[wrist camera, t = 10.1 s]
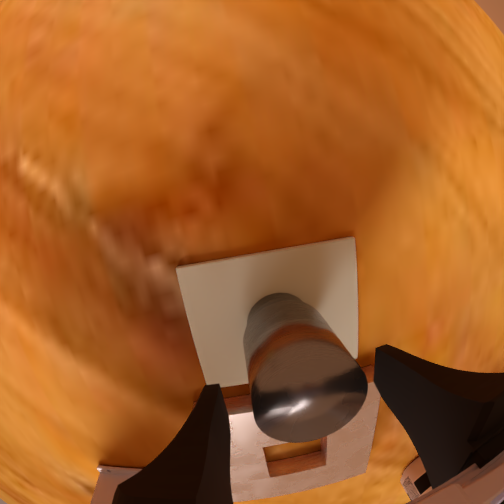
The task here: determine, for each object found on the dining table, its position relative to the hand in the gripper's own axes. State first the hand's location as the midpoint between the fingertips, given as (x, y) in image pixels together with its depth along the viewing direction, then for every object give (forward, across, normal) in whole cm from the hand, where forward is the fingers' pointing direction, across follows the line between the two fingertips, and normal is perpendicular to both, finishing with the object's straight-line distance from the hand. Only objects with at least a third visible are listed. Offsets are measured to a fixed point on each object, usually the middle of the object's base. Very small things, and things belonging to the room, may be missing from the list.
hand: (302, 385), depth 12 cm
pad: (+7, 0, 0) cm, 7 cm away
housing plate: (+7, 0, +13) cm, 15 cm away
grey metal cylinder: (+6, 0, 0) cm, 7 cm away
